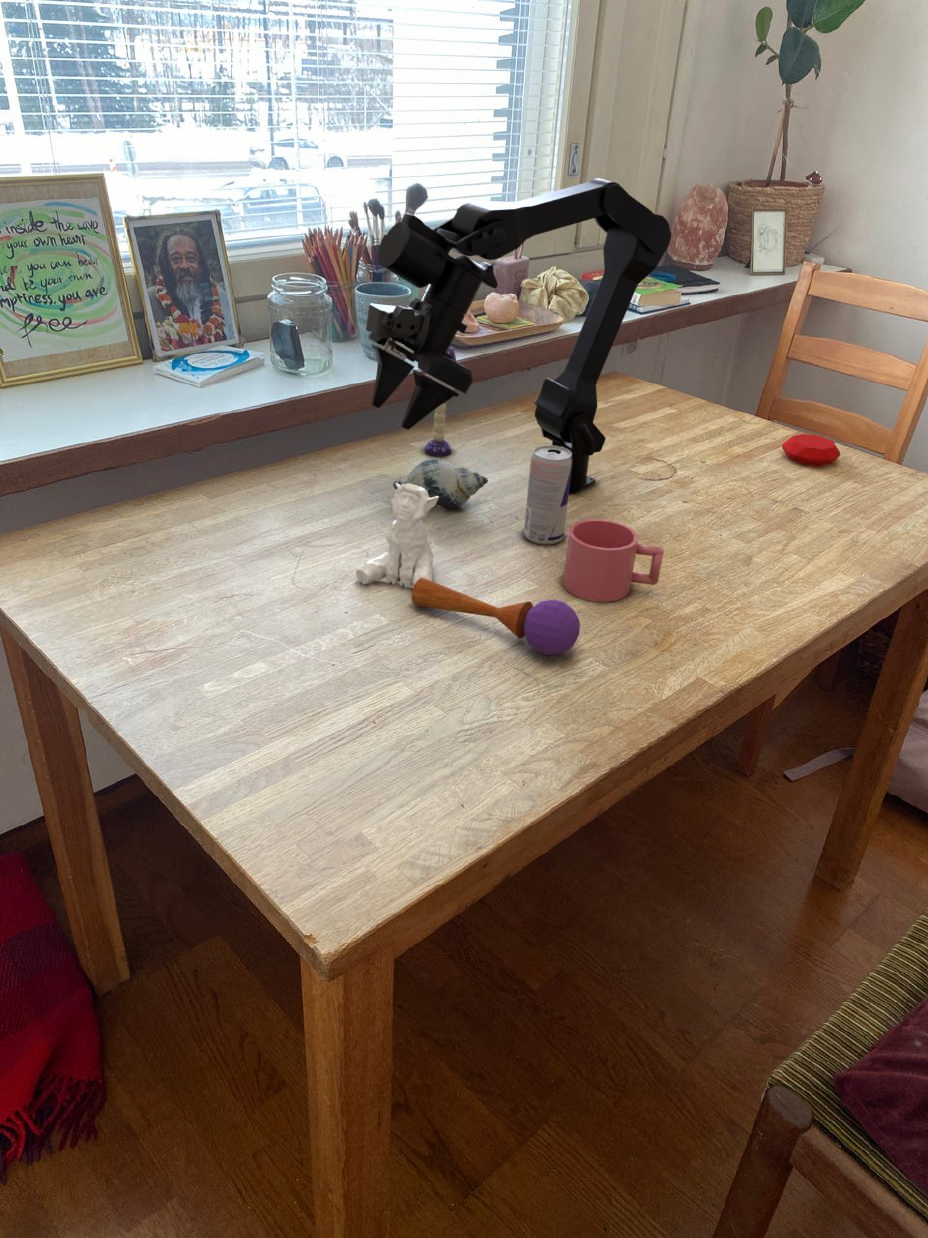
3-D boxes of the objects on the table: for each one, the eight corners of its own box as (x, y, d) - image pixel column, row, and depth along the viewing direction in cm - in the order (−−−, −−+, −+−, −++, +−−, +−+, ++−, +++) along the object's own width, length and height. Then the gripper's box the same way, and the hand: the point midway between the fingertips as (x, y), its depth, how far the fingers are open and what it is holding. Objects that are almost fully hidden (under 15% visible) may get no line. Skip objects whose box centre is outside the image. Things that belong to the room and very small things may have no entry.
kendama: (435, 562, 110) (591, 601, 101) (431, 610, 112) (584, 652, 103) (406, 572, 105) (568, 614, 96) (403, 622, 107) (561, 668, 98)
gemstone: (791, 444, 162) (795, 427, 160) (843, 457, 158) (848, 441, 156) (773, 458, 156) (777, 441, 154) (827, 473, 151) (831, 455, 150)
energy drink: (567, 532, 128) (577, 448, 122) (557, 548, 124) (567, 463, 117) (529, 524, 129) (537, 442, 123) (518, 540, 125) (526, 455, 119)
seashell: (421, 495, 139) (480, 521, 133) (387, 487, 134) (447, 514, 127) (434, 454, 138) (495, 478, 131) (401, 444, 132) (462, 469, 125)
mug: (559, 596, 113) (566, 544, 109) (566, 565, 120) (572, 515, 116) (655, 609, 111) (665, 557, 108) (656, 577, 118) (665, 527, 114)
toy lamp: (427, 444, 153) (431, 341, 144) (456, 447, 153) (461, 344, 144) (422, 454, 149) (425, 349, 140) (451, 457, 149) (456, 352, 140)
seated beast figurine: (353, 583, 113) (351, 491, 107) (383, 553, 120) (384, 465, 114) (426, 600, 110) (429, 506, 104) (453, 569, 117) (457, 479, 111)
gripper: (363, 260, 120) (311, 372, 123) (428, 290, 106) (367, 415, 109) (430, 299, 126) (379, 404, 130) (500, 332, 112) (440, 449, 116)
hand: (389, 416), depth 121 cm, fingers open, 9 cm apart
